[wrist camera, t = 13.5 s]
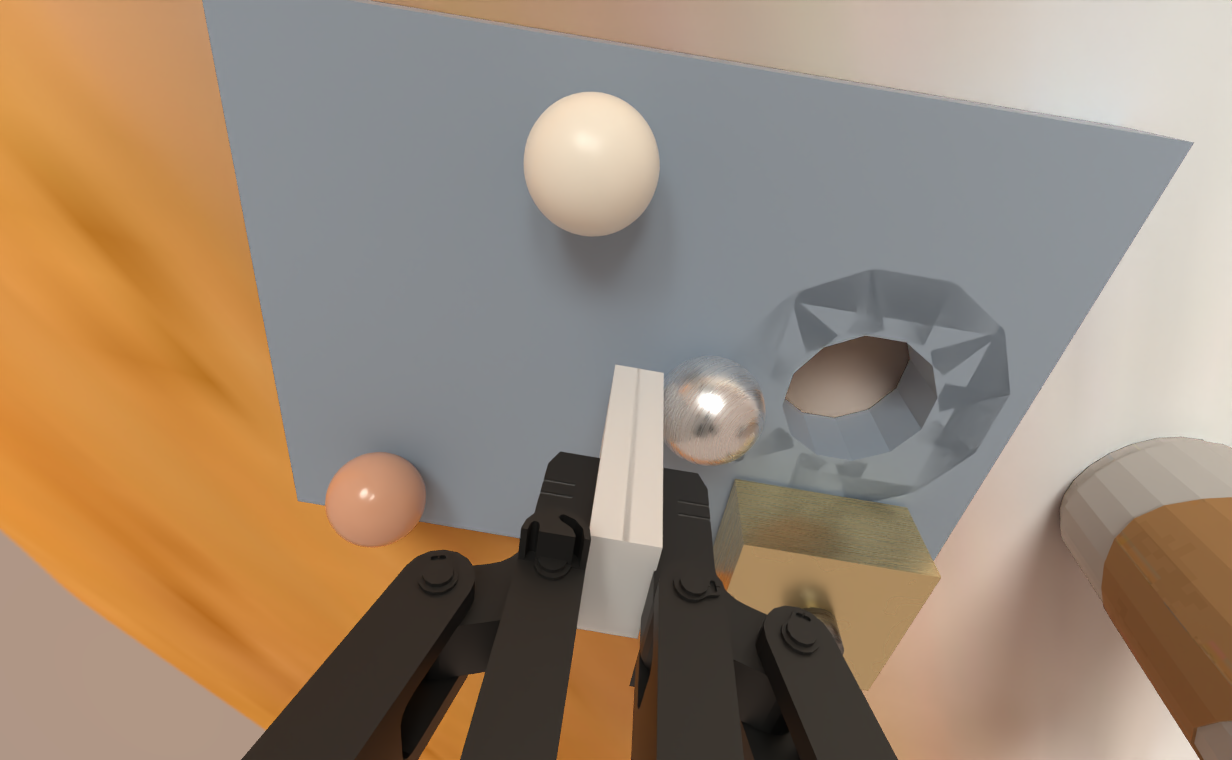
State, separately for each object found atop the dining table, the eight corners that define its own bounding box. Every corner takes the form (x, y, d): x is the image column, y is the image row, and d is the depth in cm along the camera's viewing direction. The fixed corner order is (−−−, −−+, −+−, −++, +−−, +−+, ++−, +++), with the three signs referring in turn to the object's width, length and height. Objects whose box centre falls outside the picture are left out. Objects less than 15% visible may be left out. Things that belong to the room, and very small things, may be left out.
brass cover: (734, 478, 20) (747, 570, 17) (907, 507, 20) (954, 605, 17) (697, 592, 23) (701, 689, 20) (846, 617, 23) (876, 719, 20)
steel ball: (803, 379, 16) (720, 331, 18) (726, 400, 14) (643, 345, 16) (769, 471, 18) (696, 417, 20) (695, 501, 16) (623, 438, 18)
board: (260, -19, 16) (197, -26, 14) (1124, 127, 16) (1194, 142, 14) (330, 460, 25) (297, 501, 23) (887, 554, 25) (907, 603, 23)
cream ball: (543, 75, 14) (512, 86, 12) (672, 97, 14) (671, 113, 12) (534, 205, 16) (505, 242, 13) (649, 225, 16) (644, 265, 13)
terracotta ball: (348, 426, 21) (299, 487, 18) (438, 441, 21) (402, 505, 18) (356, 494, 22) (312, 559, 20) (439, 507, 22) (407, 575, 20)
